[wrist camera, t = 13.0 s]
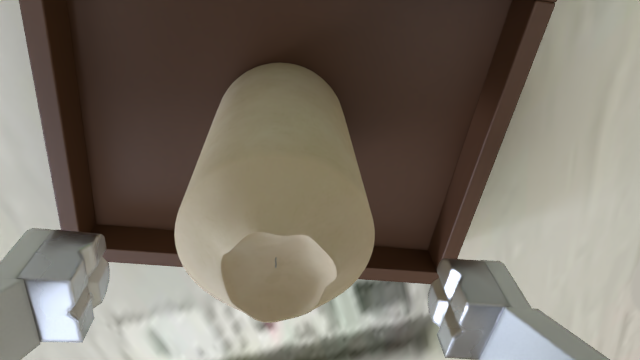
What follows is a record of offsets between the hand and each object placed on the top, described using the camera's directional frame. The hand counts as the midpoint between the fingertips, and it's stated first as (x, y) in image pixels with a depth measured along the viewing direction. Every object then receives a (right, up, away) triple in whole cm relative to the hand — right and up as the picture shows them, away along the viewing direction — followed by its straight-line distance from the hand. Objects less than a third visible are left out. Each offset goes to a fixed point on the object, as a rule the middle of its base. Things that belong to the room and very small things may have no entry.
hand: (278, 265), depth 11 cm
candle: (-1, +5, +9) cm, 10 cm away
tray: (-1, +5, +9) cm, 11 cm away
